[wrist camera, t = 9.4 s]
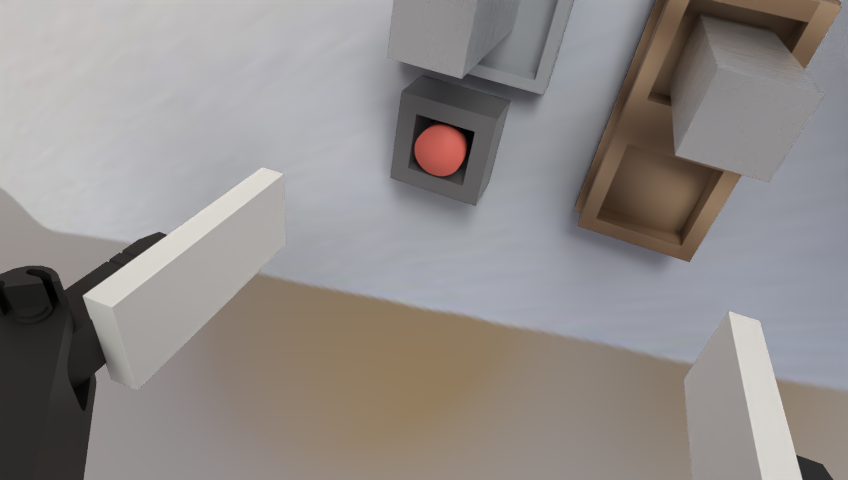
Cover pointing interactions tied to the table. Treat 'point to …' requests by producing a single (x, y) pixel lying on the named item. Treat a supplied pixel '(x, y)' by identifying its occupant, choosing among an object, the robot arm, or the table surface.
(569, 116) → the table surface
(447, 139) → the button
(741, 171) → the billet
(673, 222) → the wooden tray
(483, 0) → the block
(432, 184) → the button housing
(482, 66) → the tray
